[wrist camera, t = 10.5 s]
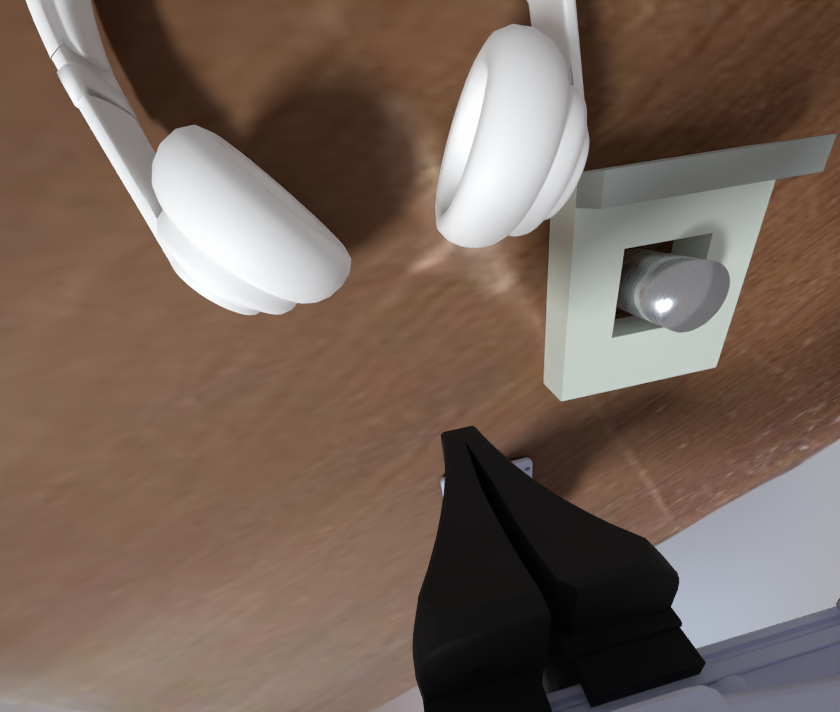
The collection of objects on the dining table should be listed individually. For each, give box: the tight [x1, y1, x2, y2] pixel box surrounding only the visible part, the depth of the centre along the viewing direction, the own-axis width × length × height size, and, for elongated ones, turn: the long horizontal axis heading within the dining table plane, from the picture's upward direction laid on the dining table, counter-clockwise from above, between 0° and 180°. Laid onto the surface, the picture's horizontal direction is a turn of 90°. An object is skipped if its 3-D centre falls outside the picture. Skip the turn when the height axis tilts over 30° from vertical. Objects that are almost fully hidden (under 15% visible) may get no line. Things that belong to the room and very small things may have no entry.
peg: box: [616, 248, 730, 333], centre depth 20 cm, size 4×4×5 cm
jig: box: [543, 134, 837, 401], centre depth 20 cm, size 14×12×4 cm
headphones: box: [26, 0, 589, 315], centre depth 12 cm, size 20×8×20 cm
